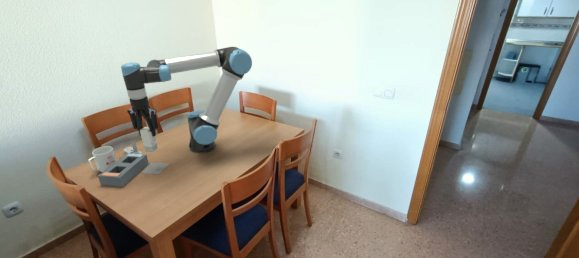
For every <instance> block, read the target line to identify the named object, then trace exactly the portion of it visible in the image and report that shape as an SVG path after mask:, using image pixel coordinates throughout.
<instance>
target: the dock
mask: <svg viewBox="0 0 579 258" xmlns="http://www.w3.org/2000/svg"><path fill="white" fill-rule="evenodd" d="M149 164H150V163H149V160H148V155H147V154H145V153H144V154H143V153H142V154H130V153H127V154H124V155H123V156H122V157H120V158H119V159H118V160H117V162H115V163H114V164H113V165H111V166H110V167H109V168H107V169H106V170H105V171H104V172H101V173H100V174H98V175H97V177H98V181H99V183H100V186H102V187H116V188H124V187H125V186H126V185H127V184H128V183H129V182H131V181H132V179H133V178H134V177H136V176H137V175H138V174H139V173H141V172H142V171H143V170H144V169H145V168H146V167H147V166H148V165H149Z"/></svg>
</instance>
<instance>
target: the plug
mask: <svg viewBox="0 0 579 258" xmlns="http://www.w3.org/2000/svg"><path fill="white" fill-rule="evenodd" d="M149 131H150V129H149V127H148V126H143V128H142V129H141V130H140V132H141V136H142V137H141V136H140V137H141V140H143V141H142V143H143V147H144V151H145V152H146V153H147V152H148V153H154V152H155V151H156V150H157V149H158V144H157V140H156V141H155V142H154V143H152V142H151V138H150V134H149Z"/></svg>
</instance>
